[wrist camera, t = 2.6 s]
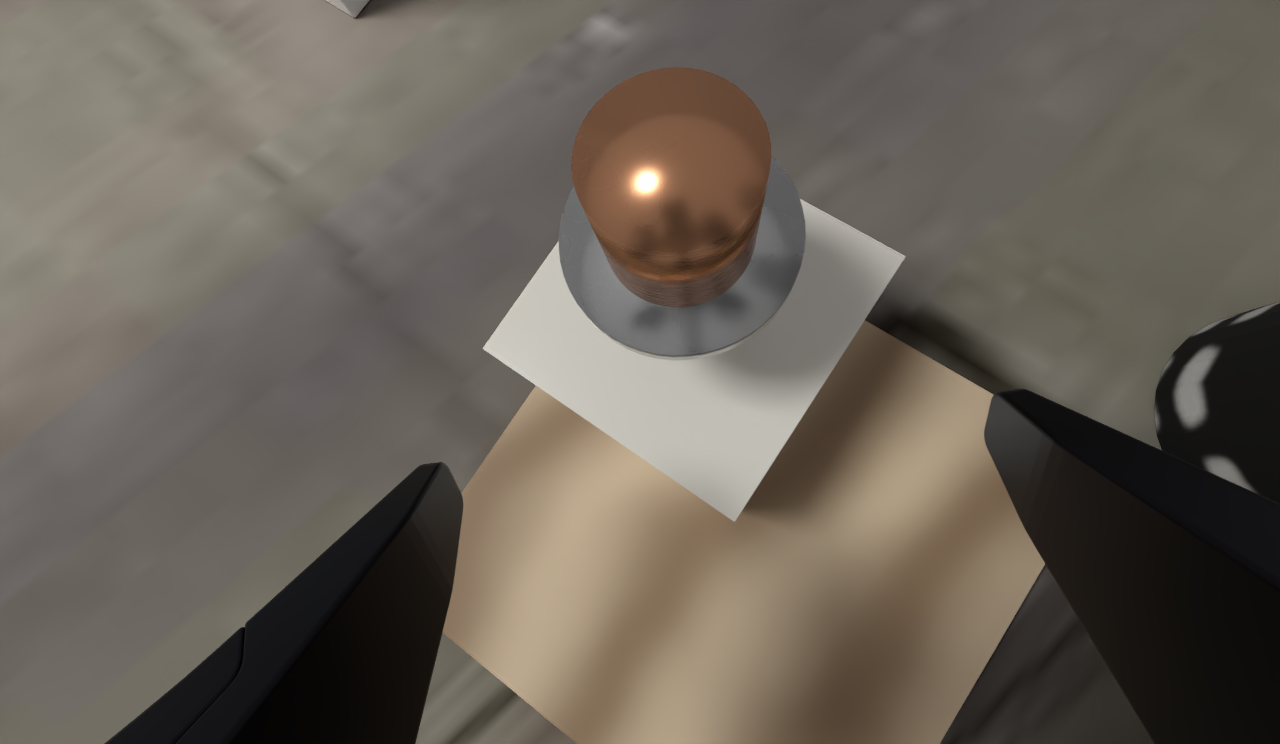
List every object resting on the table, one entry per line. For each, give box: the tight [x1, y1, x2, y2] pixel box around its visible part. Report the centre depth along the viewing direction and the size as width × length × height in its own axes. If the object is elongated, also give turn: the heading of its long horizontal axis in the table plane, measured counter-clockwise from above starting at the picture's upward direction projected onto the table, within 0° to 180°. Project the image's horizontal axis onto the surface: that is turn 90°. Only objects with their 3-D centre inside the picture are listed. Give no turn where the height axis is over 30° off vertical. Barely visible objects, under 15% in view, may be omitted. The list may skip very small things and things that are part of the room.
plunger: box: [559, 68, 806, 361], centre depth 14 cm, size 5×5×9 cm
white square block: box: [483, 199, 906, 522], centre depth 20 cm, size 9×9×6 cm
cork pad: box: [443, 320, 1045, 744], centre depth 22 cm, size 19×19×1 cm
